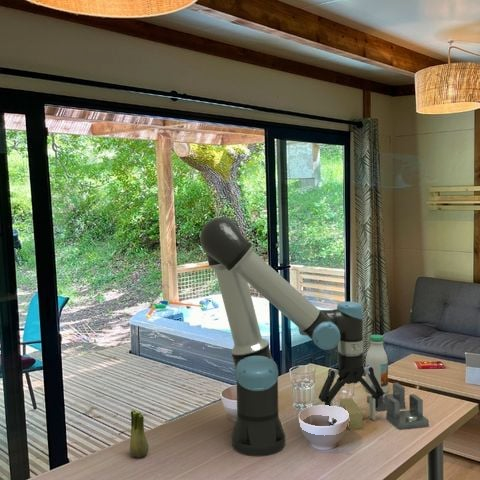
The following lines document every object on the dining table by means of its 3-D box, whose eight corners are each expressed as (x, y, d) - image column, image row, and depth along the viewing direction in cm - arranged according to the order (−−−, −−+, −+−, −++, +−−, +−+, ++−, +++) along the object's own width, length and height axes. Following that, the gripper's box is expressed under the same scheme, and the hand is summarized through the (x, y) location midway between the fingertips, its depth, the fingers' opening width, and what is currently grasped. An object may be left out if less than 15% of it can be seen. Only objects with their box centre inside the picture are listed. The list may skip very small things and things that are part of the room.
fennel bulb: (130, 451, 142) (128, 408, 141) (147, 448, 143) (146, 406, 142) (130, 461, 136) (129, 417, 135) (149, 458, 137) (147, 414, 136)
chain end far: (393, 399, 174) (393, 379, 174) (405, 408, 166) (405, 387, 166) (367, 402, 173) (366, 381, 172) (377, 411, 165) (377, 390, 164)
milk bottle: (373, 396, 178) (373, 339, 177) (361, 388, 185) (361, 334, 184) (392, 393, 180) (392, 337, 179) (379, 385, 188) (379, 332, 186)
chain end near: (398, 429, 151) (398, 406, 150) (386, 418, 159) (386, 396, 158) (428, 426, 153) (428, 403, 152) (414, 415, 161) (414, 394, 160)
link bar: (362, 429, 152) (362, 413, 152) (349, 430, 152) (349, 414, 151) (352, 413, 164) (352, 398, 164) (340, 414, 164) (339, 399, 163)
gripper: (315, 359, 150) (316, 429, 152) (394, 352, 155) (395, 421, 156) (307, 352, 158) (309, 419, 159) (383, 346, 162) (384, 411, 164)
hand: (351, 420), depth 158 cm, fingers open, 13 cm apart
